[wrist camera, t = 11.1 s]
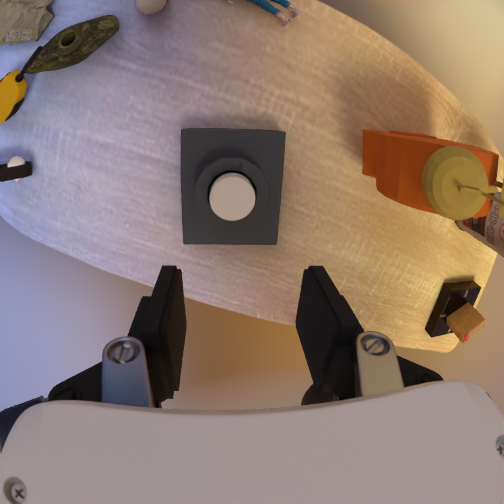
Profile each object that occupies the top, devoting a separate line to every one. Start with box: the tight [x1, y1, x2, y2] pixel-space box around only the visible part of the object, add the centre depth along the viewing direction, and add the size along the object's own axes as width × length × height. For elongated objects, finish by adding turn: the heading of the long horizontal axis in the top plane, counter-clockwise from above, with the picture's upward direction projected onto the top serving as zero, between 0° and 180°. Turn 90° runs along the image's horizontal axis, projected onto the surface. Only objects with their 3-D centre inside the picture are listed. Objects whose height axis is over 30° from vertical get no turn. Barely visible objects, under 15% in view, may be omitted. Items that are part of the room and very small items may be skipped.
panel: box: [425, 281, 481, 337], centre depth 42 cm, size 10×10×3 cm
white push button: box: [209, 173, 255, 221], centre depth 26 cm, size 4×4×2 cm
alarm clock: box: [363, 130, 504, 220], centre depth 22 cm, size 13×6×20 cm, turn 94°
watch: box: [0, 156, 32, 183], centre depth 25 cm, size 8×5×4 cm
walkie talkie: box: [0, 46, 43, 124], centre depth 19 cm, size 5×2×15 cm
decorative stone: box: [23, 15, 119, 74], centre depth 20 cm, size 12×5×4 cm, turn 118°
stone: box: [0, 0, 54, 45], centre depth 15 cm, size 15×3×10 cm
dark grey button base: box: [181, 128, 286, 245], centre depth 29 cm, size 12×10×5 cm
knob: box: [447, 302, 485, 343], centre depth 38 cm, size 6×2×6 cm, turn 116°
